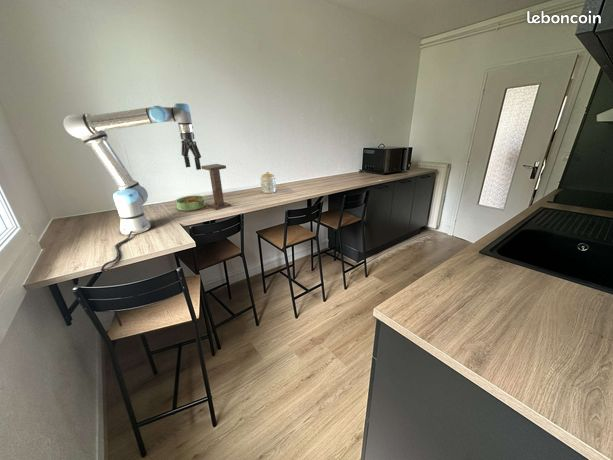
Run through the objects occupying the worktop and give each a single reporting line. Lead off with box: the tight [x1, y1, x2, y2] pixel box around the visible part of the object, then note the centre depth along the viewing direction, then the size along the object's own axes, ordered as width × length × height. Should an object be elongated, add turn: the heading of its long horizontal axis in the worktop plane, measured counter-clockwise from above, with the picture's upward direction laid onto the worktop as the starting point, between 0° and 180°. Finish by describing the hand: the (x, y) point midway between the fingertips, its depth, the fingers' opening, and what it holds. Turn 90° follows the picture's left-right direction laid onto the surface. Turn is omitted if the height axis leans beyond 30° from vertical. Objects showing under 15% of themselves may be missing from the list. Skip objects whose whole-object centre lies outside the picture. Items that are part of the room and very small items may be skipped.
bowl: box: [175, 194, 206, 212], centre depth 186 cm, size 20×20×6 cm
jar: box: [260, 171, 277, 194], centre depth 222 cm, size 13×13×18 cm
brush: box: [184, 197, 200, 203], centre depth 183 cm, size 17×6×4 cm, turn 48°
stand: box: [201, 163, 232, 211], centre depth 183 cm, size 12×12×30 cm
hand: (193, 168), depth 158 cm, fingers open, 13 cm apart
